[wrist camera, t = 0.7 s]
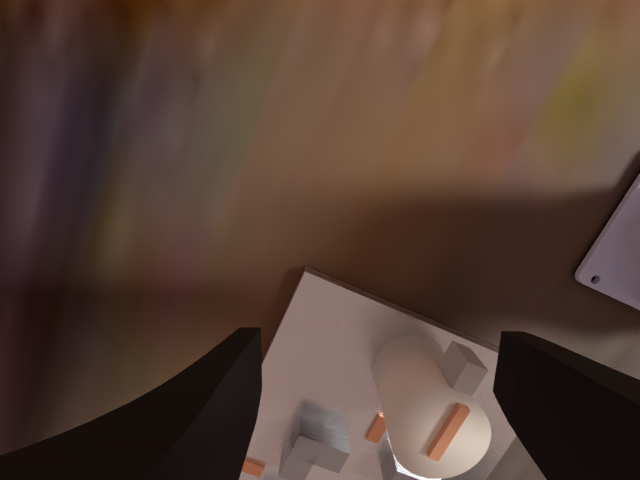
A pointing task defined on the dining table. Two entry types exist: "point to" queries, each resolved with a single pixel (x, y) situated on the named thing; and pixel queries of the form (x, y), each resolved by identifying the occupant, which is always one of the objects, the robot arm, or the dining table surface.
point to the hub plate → (346, 388)
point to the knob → (432, 406)
